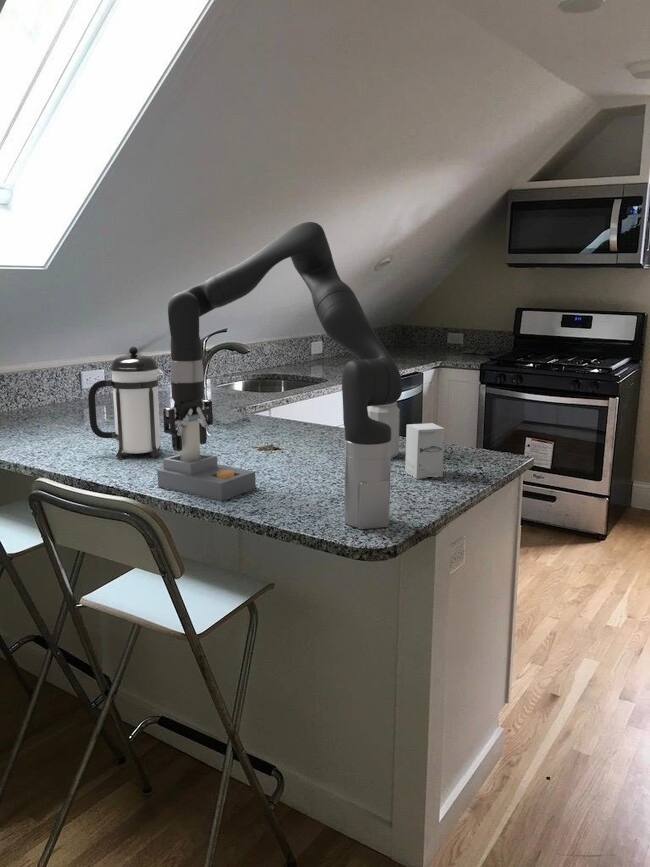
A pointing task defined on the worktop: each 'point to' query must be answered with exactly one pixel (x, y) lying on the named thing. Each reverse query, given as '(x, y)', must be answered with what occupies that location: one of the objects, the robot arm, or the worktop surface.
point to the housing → (204, 478)
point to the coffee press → (132, 404)
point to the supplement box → (424, 450)
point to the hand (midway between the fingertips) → (189, 447)
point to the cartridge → (190, 440)
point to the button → (225, 474)
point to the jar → (388, 422)
